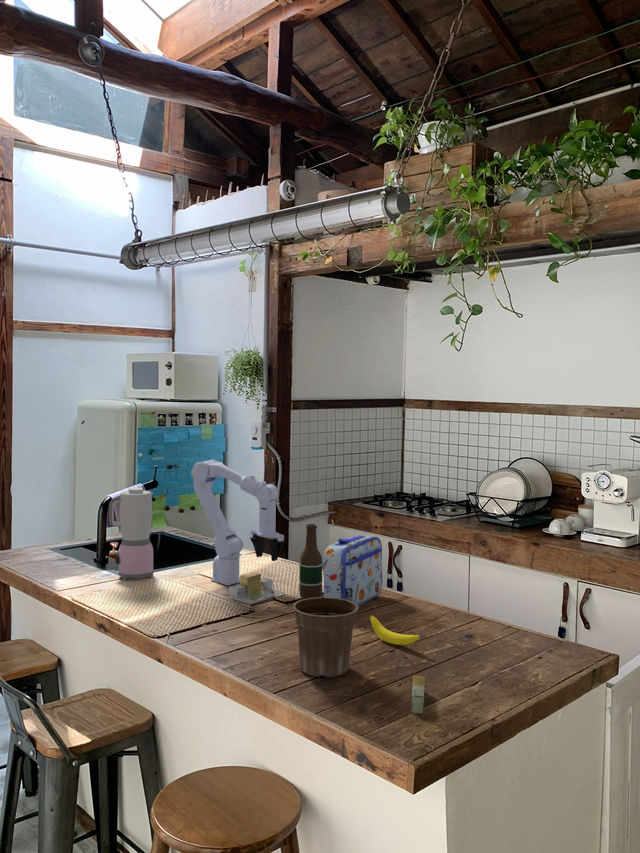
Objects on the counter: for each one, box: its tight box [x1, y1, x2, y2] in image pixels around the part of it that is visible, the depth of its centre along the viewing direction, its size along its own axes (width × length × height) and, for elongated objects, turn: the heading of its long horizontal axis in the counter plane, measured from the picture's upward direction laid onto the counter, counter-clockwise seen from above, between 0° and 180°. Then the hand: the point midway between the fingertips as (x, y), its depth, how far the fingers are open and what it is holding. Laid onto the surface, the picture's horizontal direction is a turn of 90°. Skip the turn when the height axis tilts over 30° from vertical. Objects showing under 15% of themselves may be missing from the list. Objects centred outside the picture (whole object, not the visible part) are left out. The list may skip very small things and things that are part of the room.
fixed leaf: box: [228, 577, 286, 606], centre depth 247 cm, size 10×16×4 cm, turn 138°
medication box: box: [410, 675, 425, 714], centre depth 169 cm, size 12×3×4 cm, turn 172°
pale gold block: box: [228, 571, 262, 595], centre depth 251 cm, size 10×6×6 cm, turn 48°
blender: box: [108, 487, 155, 582], centre depth 267 cm, size 16×12×32 cm
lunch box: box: [322, 535, 383, 607], centre depth 241 cm, size 28×10×22 cm, turn 149°
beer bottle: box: [298, 523, 323, 599], centre depth 248 cm, size 8×8×24 cm
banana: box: [368, 613, 421, 646], centre depth 205 cm, size 3×19×6 cm, turn 40°
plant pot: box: [292, 596, 359, 678], centre depth 186 cm, size 16×16×16 cm
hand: (266, 558), depth 258 cm, fingers open, 7 cm apart
